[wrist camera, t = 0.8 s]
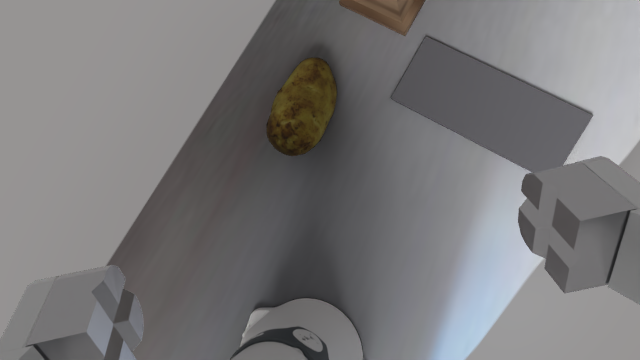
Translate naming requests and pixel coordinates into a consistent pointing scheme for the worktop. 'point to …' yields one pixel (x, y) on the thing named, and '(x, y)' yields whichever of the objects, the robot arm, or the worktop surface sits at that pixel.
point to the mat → (490, 107)
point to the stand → (387, 12)
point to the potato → (302, 108)
